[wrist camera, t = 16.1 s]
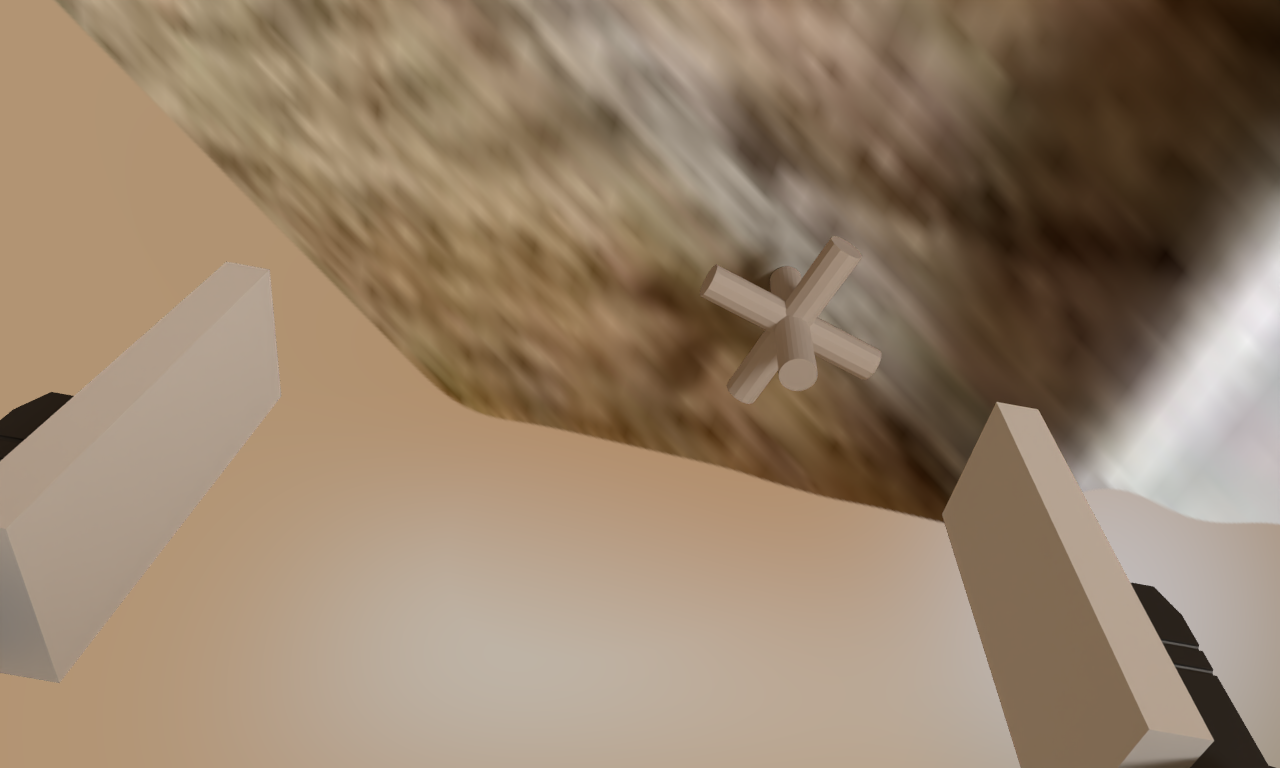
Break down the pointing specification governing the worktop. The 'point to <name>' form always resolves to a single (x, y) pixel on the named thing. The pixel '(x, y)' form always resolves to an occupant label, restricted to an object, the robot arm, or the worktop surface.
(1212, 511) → the worktop surface
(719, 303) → the pipe connector
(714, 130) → the worktop surface
